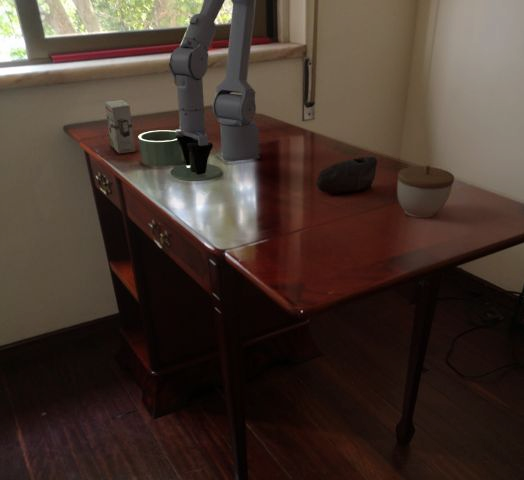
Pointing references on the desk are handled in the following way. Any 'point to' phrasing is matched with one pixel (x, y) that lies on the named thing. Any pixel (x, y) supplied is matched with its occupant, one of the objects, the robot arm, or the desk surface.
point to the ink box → (120, 126)
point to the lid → (194, 172)
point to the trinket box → (423, 190)
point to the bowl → (160, 148)
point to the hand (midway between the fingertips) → (195, 169)
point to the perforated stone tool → (348, 176)
